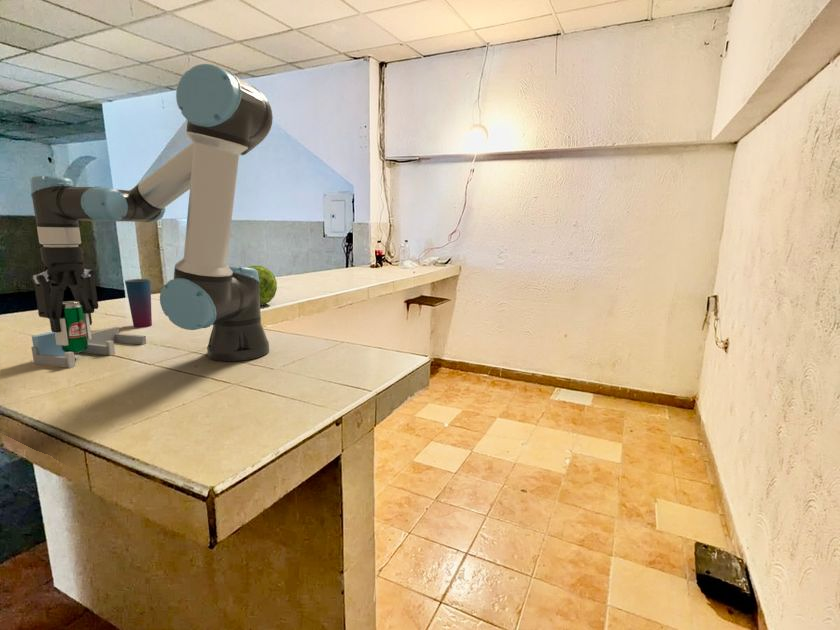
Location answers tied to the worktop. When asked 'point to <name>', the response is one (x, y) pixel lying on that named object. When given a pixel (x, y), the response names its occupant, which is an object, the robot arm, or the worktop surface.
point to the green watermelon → (266, 284)
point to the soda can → (74, 326)
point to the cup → (140, 301)
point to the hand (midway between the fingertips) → (74, 341)
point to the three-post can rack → (99, 344)
